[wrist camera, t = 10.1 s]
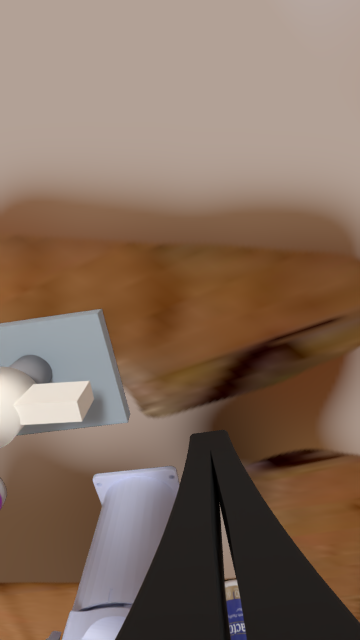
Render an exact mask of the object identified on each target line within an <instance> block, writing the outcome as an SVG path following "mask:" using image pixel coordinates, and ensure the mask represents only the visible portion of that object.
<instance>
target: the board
mask: <svg viewBox="0 0 360 640" xmlns="http://www.w3.org/2000/svg"><path fill="white" fill-rule="evenodd" d="M0 367H11V368H15V369H18V370H20V371H22V372H24V373H25V374H27V375H28V376H30V377H31V378H32V379H33V380H34V381H35V383H36V384H45V383H61V382H77V381H90V384H91V388H92V392H93V397H94V400H93V402H92V404H91V406H90V408H89V410H88V412H87V413H86V415H85V417H84V419H83V421H82V422H66V423H48V424H31V425H24V427H23V428H22V429H21V430H20V431H19V433H18V434H17V435H24V434H34V433H42V432H50V431H59V430H68V429H77V428H85V427H93V426H102V425H110V424H119V423H127V422H128V420H129V416H130V411H129V408H128V404H127V400H126V397H125V393H124V389H123V386H122V382H121V378H120V374H119V371H118V367H117V363H116V360H115V356H114V352H113V349H112V345H111V341H110V337H109V334H108V330H107V326H106V323H105V319H104V315H103V312H102V309H98V310H91V311H84V312H77V313H70V314H63V315H56V316H49V317H43V318H36V319H29V320H22V321H15V322H8V323H1V324H0ZM17 435H16V436H17Z"/></svg>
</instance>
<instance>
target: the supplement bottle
mask: <svg viewBox="0 0 360 640" xmlns="http://www.w3.org/2000/svg"><path fill="white" fill-rule="evenodd" d="M6 497H7V490H6V486H5V484H4V482H3V480H2V479H1V478H0V509H1V508H2V506H3V504H4V502H5V500H6Z"/></svg>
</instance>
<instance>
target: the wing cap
mask: <svg viewBox="0 0 360 640" xmlns="http://www.w3.org/2000/svg"><path fill="white" fill-rule="evenodd" d="M93 400H94V397H93V392H92V388H91V384H90V381H77V382H61V383H45V384H36V383H35V381H34V380H33V379H32V378H31V377H30V376H28V375H27V374H25V373H24V372H22V371H20V370H18V369H15V368H11V367H0V448H2V447H4V446H6V445H8V444H9V443H10V442H11V441H12V440H13V439H14V437H15V436H16V435H17V434H18V433H19V431H20V430H21V429H22V428H23V427H24V425H31V424H48V423H66V422H82V421H83V419H84V417H85V415H86V413H87V412H88V410H89V408H90V406H91V404H92V402H93Z"/></svg>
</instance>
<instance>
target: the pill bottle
mask: <svg viewBox="0 0 360 640" xmlns="http://www.w3.org/2000/svg"><path fill="white" fill-rule="evenodd" d="M225 592H226V603H227V611H228V619H229V627H230V635H231V640H247V637H246V631H245V625H244V619H243V612H242V606H241V600H240V594H239V589H238V584H237V579H233V580H228V581H225Z"/></svg>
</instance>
